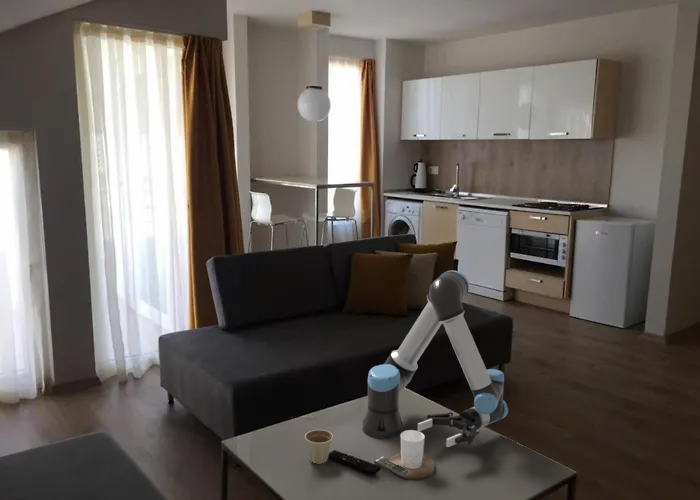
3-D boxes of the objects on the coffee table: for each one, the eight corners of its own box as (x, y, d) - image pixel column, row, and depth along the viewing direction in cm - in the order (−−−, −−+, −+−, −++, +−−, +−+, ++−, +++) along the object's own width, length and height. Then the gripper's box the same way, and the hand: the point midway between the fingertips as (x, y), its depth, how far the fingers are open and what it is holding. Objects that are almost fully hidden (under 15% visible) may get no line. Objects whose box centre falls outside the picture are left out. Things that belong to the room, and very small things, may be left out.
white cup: (422, 471, 194) (423, 442, 192) (398, 468, 196) (399, 440, 194) (424, 459, 202) (425, 431, 200) (401, 456, 203) (402, 428, 202)
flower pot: (337, 456, 205) (337, 433, 203) (324, 469, 197) (325, 445, 195) (313, 450, 209) (313, 427, 207) (299, 463, 200) (299, 439, 199)
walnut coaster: (379, 464, 200) (379, 461, 200) (411, 451, 209) (412, 447, 209) (410, 484, 189) (410, 481, 188) (443, 469, 198) (443, 466, 198)
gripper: (501, 441, 207) (459, 460, 194) (448, 415, 227) (406, 431, 214) (502, 421, 206) (460, 439, 193) (448, 397, 225) (407, 411, 212)
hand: (432, 435), depth 203 cm, fingers open, 13 cm apart
